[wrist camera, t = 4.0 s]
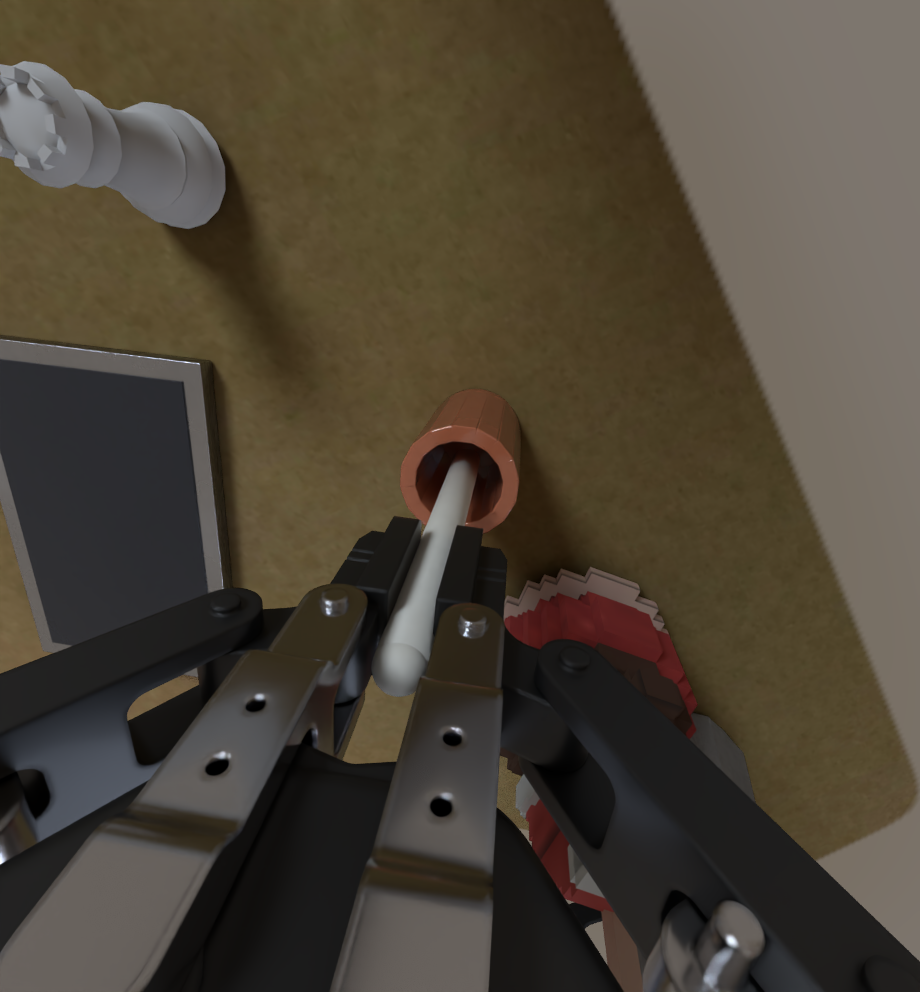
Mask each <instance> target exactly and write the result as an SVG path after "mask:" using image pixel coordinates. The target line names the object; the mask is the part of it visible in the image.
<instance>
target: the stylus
mask: <svg viewBox="0 0 920 992" xmlns="http://www.w3.org/2000/svg"><path fill="white" fill-rule="evenodd" d="M479 465H480V458H479V456H478V454H477V453H476V452H475V451H474V450H472V449H469V448H465V449H461V450H459V451H458V452H457V453H456V454H455V456H454V458H453V461H452V463H451V465H450V468H449V470H448V473H447V475H446V478H445V480H444V483H443V485H442V488H441V490H440V493H439V495H438V498H437V500H436V503H435V505H434V508H433V510H432V513H431V515H430V518H429V520H428V523H427V525H426V527H425V530H424V532H423V535H422V537H421V541H420V544H419V546H418V549H417V551H416V554H415V556H414V559H413V561H412V564H411V566H410V569H409V571H408V574H407V576H406V579H405V581H404V584H403V586H402V589H401V591H400V594H399V596H398V599H397V601H396V604H395V606H394V609H393V611H392V614H391V616H390V619H389V621H388V624H387V626H386V627H385V629H384V632H383V634H382V637H381V639H380V642H379V644H378V647H377V649H376V651H375V654H374V657H373V660H372V675H373V678H374V681H375V683H376V684H377V686H378V687H379V688H380V689H381V690H382V691H383V692H385V693H387V694H389V695H391V696H397V697H401V696H406V695H410V694H412V693H414V692H415V691H416V689H417V685H418V682H419V679H420V677H421V676H425V673H426V669H427V665H428V662H429V658H430V654H431V650H432V646H433V642H434V639H435V637H434V635H433V626H434V616H435V605H436V597H437V594H438V590H439V587H440V583H441V579H442V576H443V572H444V569H445V565H446V562H447V558H448V555H449V551H450V548H451V544H452V540H453V537H454V533H455V530H456V526H457V525H462V526H465V522H466V518H467V514H468V510H469V506H470V502H471V498H472V494H473V490H474V486H475V482H476V478H477V474H478V470H479Z"/></svg>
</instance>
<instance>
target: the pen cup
mask: <svg viewBox="0 0 920 992" xmlns="http://www.w3.org/2000/svg"><path fill="white" fill-rule="evenodd" d="M520 446H521V432H520V425H519V421H518V418H517V416H516V414H515V412H514V410H513V409H512V407H511V406H510V405H509V404H508V402H507V401H505V400H504V399H503V398H502V397H500V396H499V395H497V394H495V393H493V392H490V391H487V390H482V389H468V390H463V391H460V392H457V393H455V394H453V395H452V396H450V397H449V398H447V399H446V400H445V401H444V402H443V403H442V404H441V405H440V406H439V407H438V408H437V410H436V411H435V413H434V414H433V416H432V417H431V418H430V420H429V421H428V423H427V424H426V425H425V427H424V428H423V430H422V431H421V433H420V434H419V435H418V437H417V438H416V440H415V441H414V442H413V444H412V445H411V447H410V449H409V451H408V452H407V454H406V456H405V458H404V460H403V462H402V466H401V476H400V486H401V487H400V488H401V491H402V494H403V497H404V499H405V502H406V505H407V507H408V508H409V510H410V511H411V512H412V513H413V514H414V515H415V516H416V518H417V519H419V520H421V523H423V524H424V525H425V526H426V525H427V523H428V520H429V518H430V515H431V513H432V510H433V508H434V505H435V503H436V500H437V498H438V495H439V493H440V490H441V488H442V485H443V483H444V480H445V478H446V475H447V473H448V470H449V468H450V465H451V463H452V461H453V458H454V456H455V454H456V453H457V452H458V451H459V450H461V449H465V448H469V449H472V450H474V451H475V452H476V453H477V454H478V456H479V458H480V465H479V470H478V474H477V478H476V482H475V486H474V490H473V494H472V498H471V502H470V506H469V510H468V514H467V518H466V522H465V526H469V527H476V528H483V534H484V533H487V532H489V531H490V530H492V529H493V528H495V527H496V526H498V525H499V524H501V523H502V522H503V521H504V520H505V519H506V518H507V516H508V514H509V513H510V511H511V510H512V508H513V507H514V505H515V503H516V501H517V495H518V488H519V479H520Z"/></svg>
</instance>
